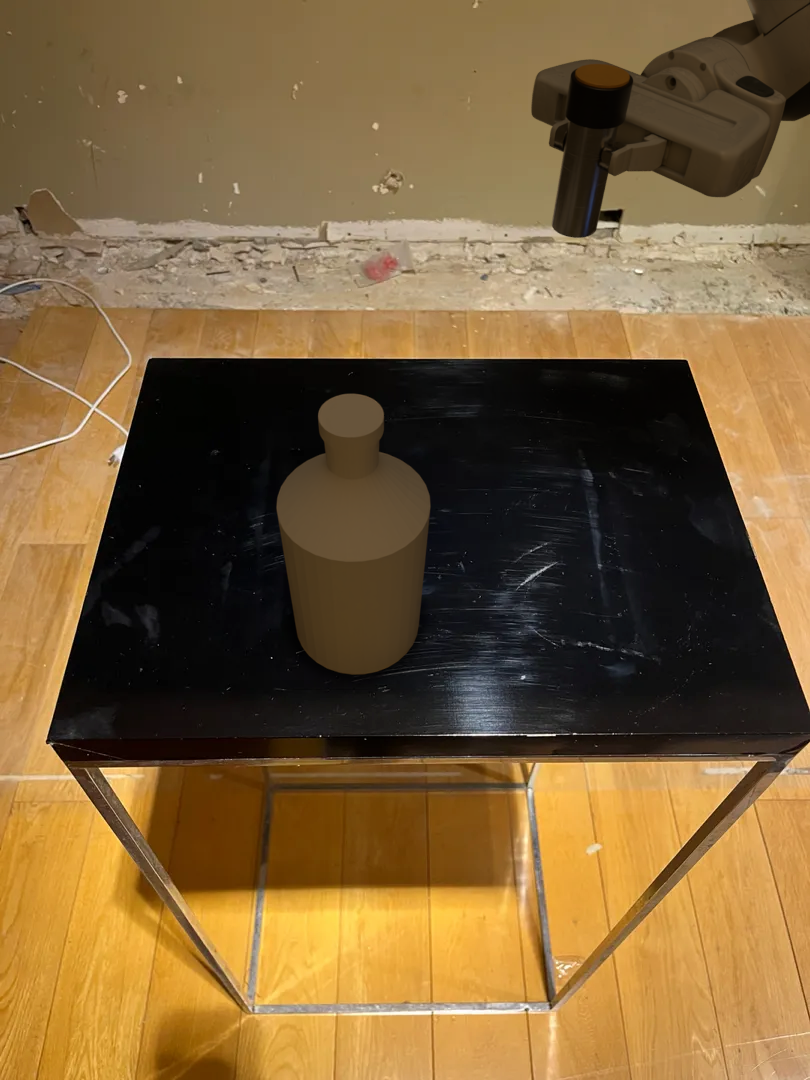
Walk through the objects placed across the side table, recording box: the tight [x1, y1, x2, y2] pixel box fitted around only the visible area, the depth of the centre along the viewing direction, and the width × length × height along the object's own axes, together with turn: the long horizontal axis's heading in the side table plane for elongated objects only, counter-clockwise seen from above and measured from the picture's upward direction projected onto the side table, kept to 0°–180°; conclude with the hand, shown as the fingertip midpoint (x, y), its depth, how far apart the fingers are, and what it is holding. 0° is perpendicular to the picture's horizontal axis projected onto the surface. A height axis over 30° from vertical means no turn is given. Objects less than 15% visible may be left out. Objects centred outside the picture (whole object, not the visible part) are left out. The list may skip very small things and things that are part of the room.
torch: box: [551, 64, 633, 239], centre depth 65 cm, size 5×5×12 cm
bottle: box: [276, 393, 431, 675], centre depth 67 cm, size 12×12×25 cm
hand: (581, 151), depth 65 cm, fingers closed on torch, 4 cm apart
